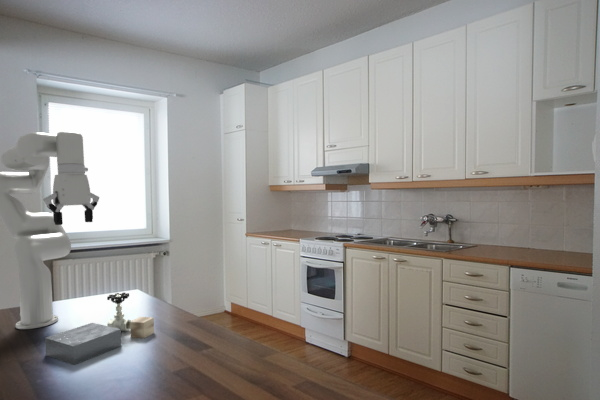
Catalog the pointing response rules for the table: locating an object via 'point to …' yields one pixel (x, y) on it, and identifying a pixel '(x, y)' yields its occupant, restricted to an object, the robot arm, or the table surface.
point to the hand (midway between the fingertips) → (74, 223)
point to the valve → (119, 313)
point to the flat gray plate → (82, 343)
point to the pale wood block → (142, 327)
